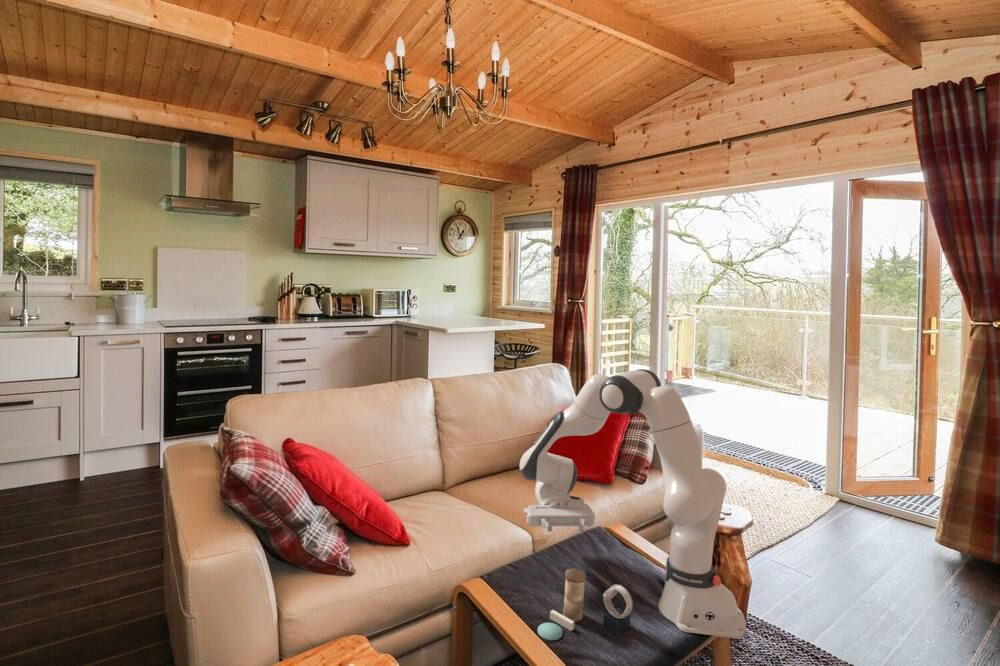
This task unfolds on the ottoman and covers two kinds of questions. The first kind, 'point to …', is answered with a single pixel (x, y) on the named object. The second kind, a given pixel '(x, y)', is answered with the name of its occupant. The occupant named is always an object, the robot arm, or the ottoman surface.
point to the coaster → (550, 631)
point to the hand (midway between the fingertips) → (565, 528)
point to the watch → (617, 610)
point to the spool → (574, 594)
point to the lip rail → (562, 620)
